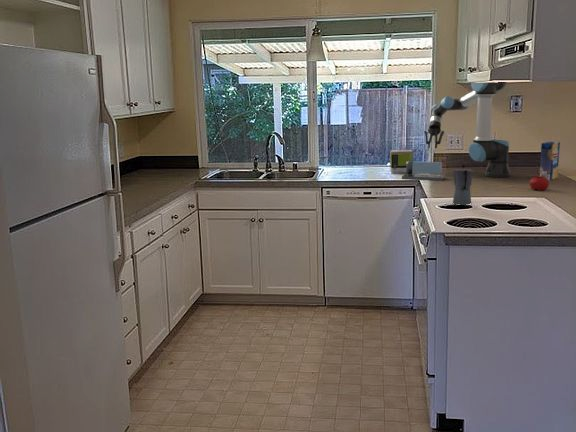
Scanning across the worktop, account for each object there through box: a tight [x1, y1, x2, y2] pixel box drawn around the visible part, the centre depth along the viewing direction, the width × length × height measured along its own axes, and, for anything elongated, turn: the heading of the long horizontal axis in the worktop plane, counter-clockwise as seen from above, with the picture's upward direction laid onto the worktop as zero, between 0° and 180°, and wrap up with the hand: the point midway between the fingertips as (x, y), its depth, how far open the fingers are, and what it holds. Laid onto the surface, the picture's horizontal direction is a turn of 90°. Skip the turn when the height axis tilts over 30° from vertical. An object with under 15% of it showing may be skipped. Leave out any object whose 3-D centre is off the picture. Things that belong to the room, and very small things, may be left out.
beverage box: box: [539, 141, 561, 181], centre depth 371 cm, size 7×11×22 cm, turn 136°
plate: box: [401, 173, 446, 182], centre depth 384 cm, size 25×12×3 cm, turn 66°
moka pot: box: [452, 164, 474, 205], centre depth 297 cm, size 10×15×20 cm, turn 178°
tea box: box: [389, 149, 415, 174], centre depth 411 cm, size 15×10×15 cm, turn 84°
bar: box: [405, 160, 443, 175], centre depth 386 cm, size 22×4×7 cm, turn 66°
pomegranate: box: [529, 172, 550, 191], centre depth 336 cm, size 10×10×9 cm
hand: (431, 151), depth 396 cm, fingers open, 2 cm apart
